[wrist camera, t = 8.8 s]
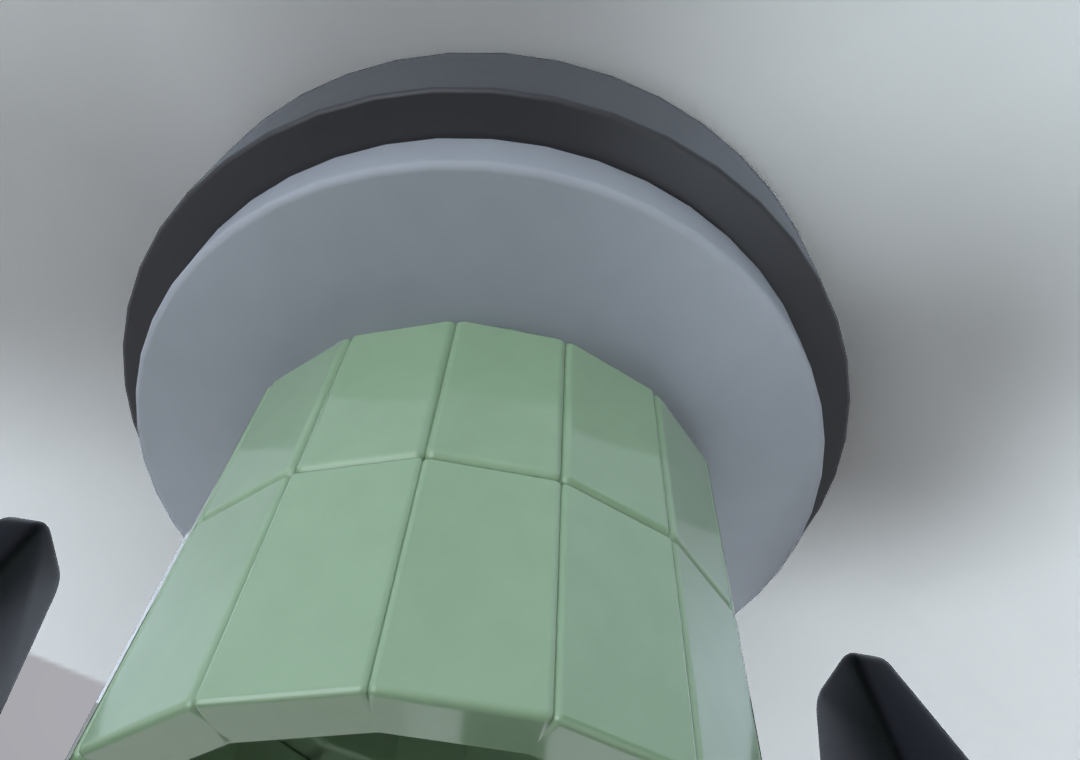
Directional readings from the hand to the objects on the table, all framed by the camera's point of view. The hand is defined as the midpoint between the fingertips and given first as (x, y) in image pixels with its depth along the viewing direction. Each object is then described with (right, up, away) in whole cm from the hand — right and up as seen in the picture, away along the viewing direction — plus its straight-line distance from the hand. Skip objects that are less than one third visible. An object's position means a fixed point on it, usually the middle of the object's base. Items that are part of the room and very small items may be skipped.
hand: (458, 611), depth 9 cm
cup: (0, +1, +2) cm, 2 cm away
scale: (0, +3, +3) cm, 4 cm away
